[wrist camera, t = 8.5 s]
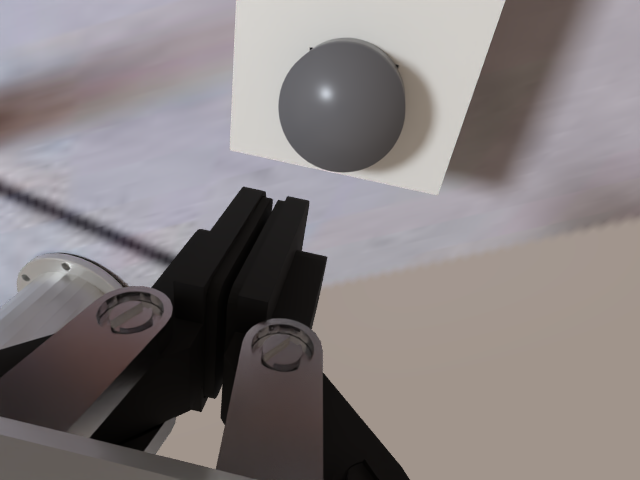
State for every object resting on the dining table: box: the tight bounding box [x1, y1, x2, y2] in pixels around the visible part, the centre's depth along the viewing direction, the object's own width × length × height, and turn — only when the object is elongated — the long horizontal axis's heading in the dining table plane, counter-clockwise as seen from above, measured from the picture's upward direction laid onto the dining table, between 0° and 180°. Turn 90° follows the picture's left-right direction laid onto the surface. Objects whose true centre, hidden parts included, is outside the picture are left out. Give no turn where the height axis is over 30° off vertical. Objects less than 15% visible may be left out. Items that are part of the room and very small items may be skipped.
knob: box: [278, 38, 405, 173], centre depth 23 cm, size 6×6×8 cm
